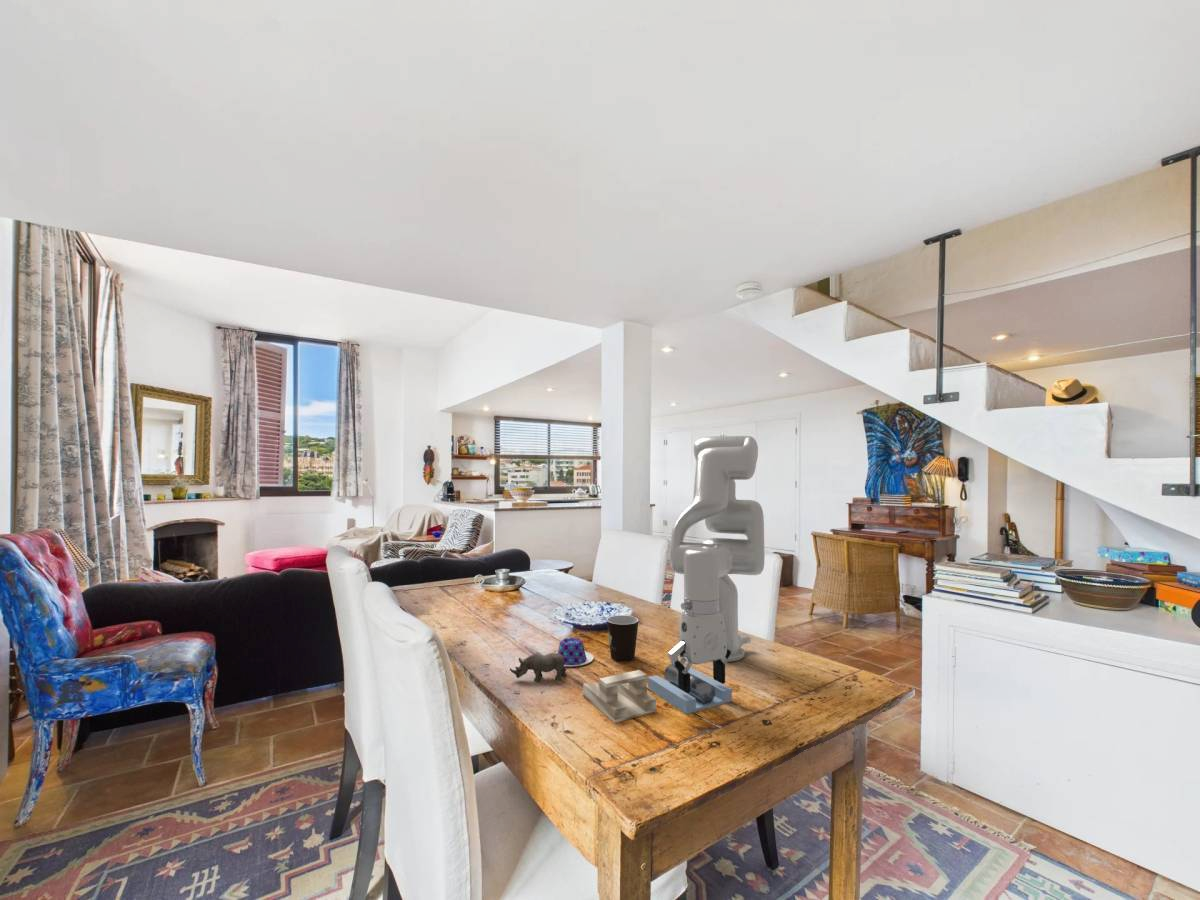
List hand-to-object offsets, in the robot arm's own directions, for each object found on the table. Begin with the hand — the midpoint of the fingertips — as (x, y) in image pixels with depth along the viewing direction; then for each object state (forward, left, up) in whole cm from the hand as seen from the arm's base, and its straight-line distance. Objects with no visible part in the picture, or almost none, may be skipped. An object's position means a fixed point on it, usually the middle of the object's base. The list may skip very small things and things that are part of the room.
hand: (702, 685), depth 108 cm
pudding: (+14, -37, -4) cm, 40 cm away
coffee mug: (0, -33, -4) cm, 33 cm away
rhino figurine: (+26, -29, -4) cm, 39 cm away
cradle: (0, -5, -4) cm, 6 cm away
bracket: (+16, -9, -4) cm, 19 cm away
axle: (0, -5, -1) cm, 5 cm away
